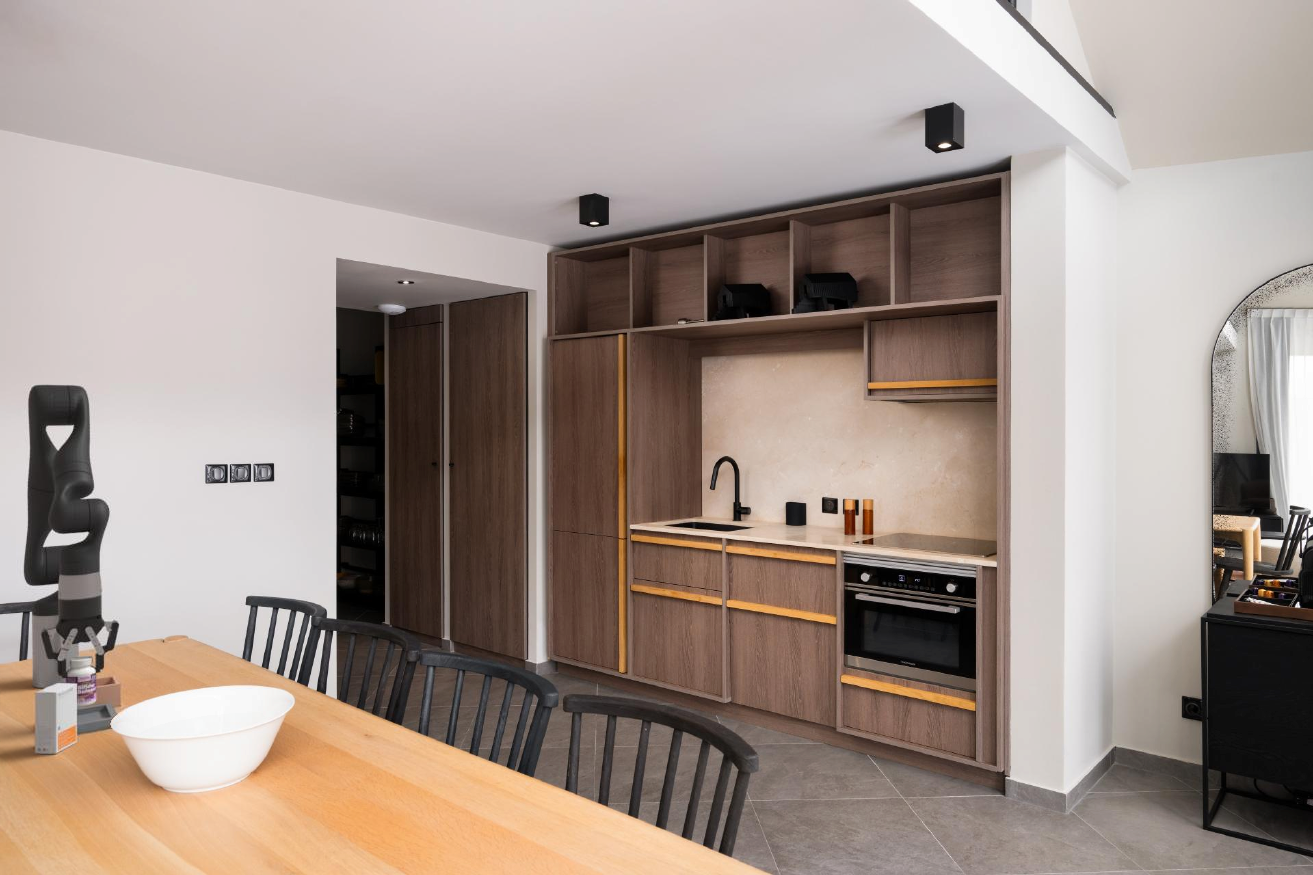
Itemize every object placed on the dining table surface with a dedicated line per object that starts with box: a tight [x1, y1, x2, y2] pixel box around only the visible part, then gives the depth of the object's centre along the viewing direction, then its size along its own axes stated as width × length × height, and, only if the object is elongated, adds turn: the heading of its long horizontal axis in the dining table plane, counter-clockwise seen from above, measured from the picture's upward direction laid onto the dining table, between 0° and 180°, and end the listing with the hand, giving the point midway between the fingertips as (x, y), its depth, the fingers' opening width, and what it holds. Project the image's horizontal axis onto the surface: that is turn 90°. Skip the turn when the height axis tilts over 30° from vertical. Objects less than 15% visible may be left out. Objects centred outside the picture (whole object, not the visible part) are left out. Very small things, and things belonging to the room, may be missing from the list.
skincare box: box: [34, 683, 78, 755], centre depth 167 cm, size 6×4×12 cm
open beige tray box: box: [77, 674, 122, 708], centre depth 192 cm, size 8×8×5 cm
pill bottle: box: [66, 655, 97, 707], centre depth 179 cm, size 5×5×10 cm
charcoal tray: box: [77, 702, 118, 736], centre depth 180 cm, size 12×12×2 cm
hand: (80, 674), depth 179 cm, fingers closed on pill bottle, 5 cm apart
